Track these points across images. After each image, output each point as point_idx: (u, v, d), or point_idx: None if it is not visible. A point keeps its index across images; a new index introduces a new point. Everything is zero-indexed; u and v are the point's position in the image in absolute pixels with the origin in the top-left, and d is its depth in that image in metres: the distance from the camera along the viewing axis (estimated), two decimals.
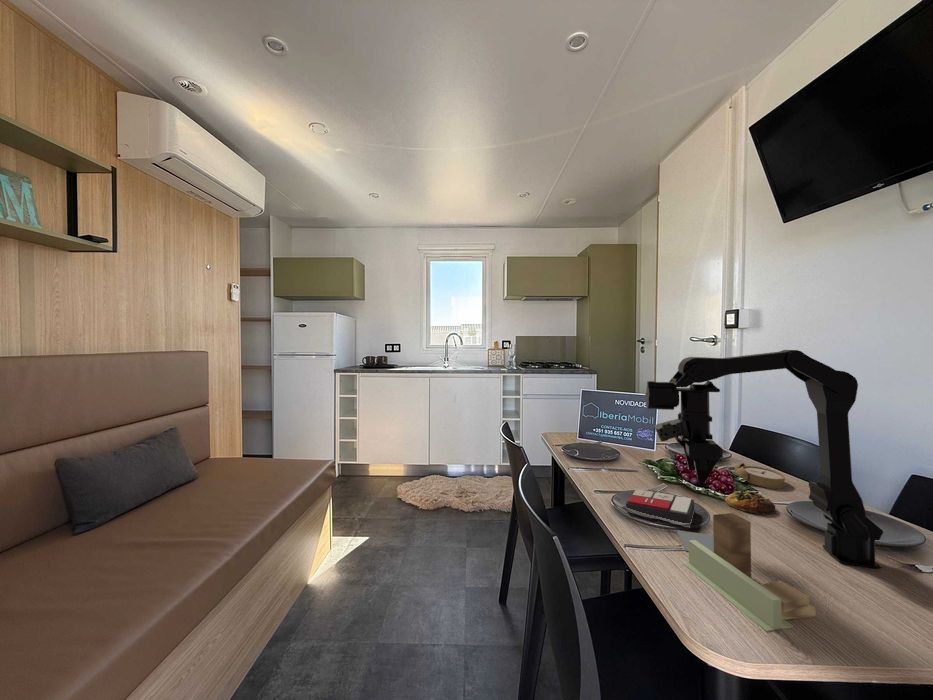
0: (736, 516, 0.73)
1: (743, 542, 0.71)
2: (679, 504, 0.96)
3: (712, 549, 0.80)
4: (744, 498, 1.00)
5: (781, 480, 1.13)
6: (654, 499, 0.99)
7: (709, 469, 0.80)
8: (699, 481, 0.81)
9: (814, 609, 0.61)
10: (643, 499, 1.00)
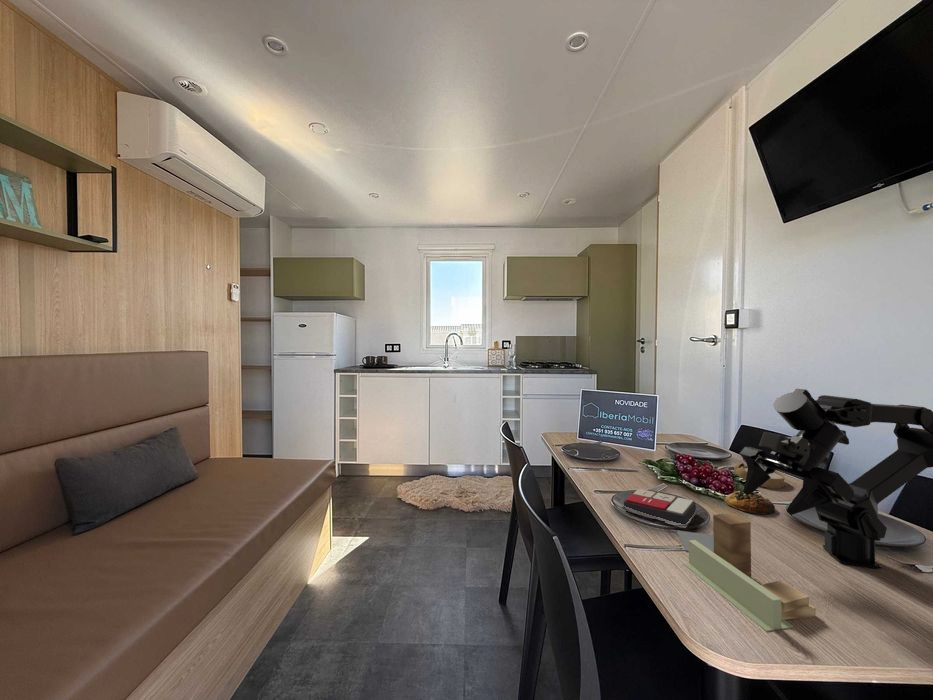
0: (736, 516, 0.73)
1: (743, 542, 0.71)
2: (677, 505, 0.95)
3: (712, 549, 0.80)
4: (743, 498, 1.00)
5: (781, 480, 1.13)
6: (653, 499, 0.99)
7: (812, 505, 0.68)
8: (790, 510, 0.69)
9: (814, 609, 0.61)
10: (642, 498, 1.00)
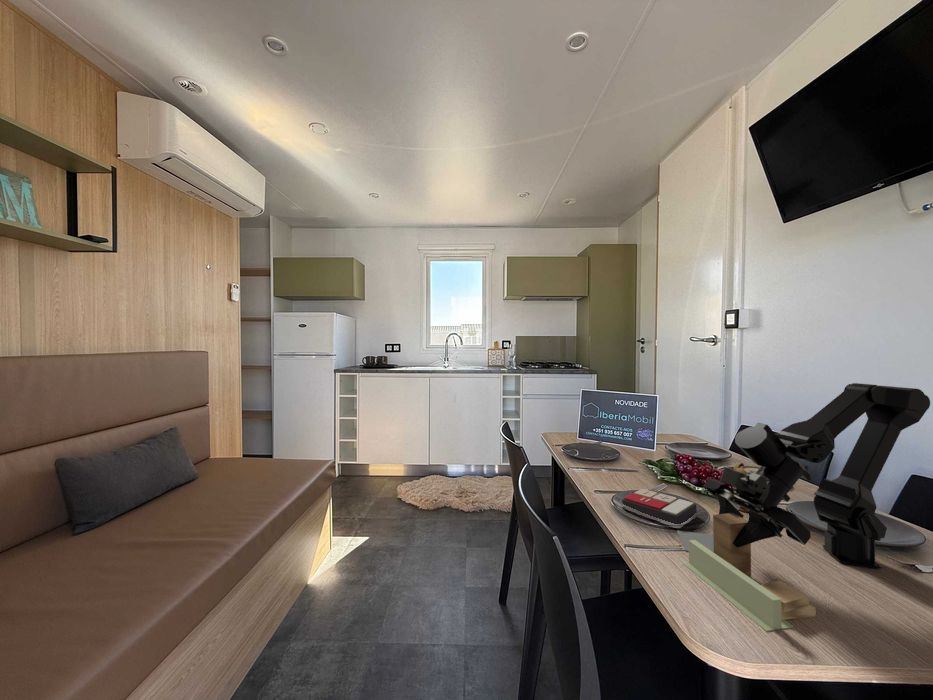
0: (736, 516, 0.73)
1: None
2: (675, 506, 0.95)
3: (712, 549, 0.80)
4: None
5: None
6: (652, 499, 0.99)
7: (757, 538, 0.69)
8: (736, 543, 0.70)
9: (814, 609, 0.61)
10: (640, 498, 1.01)
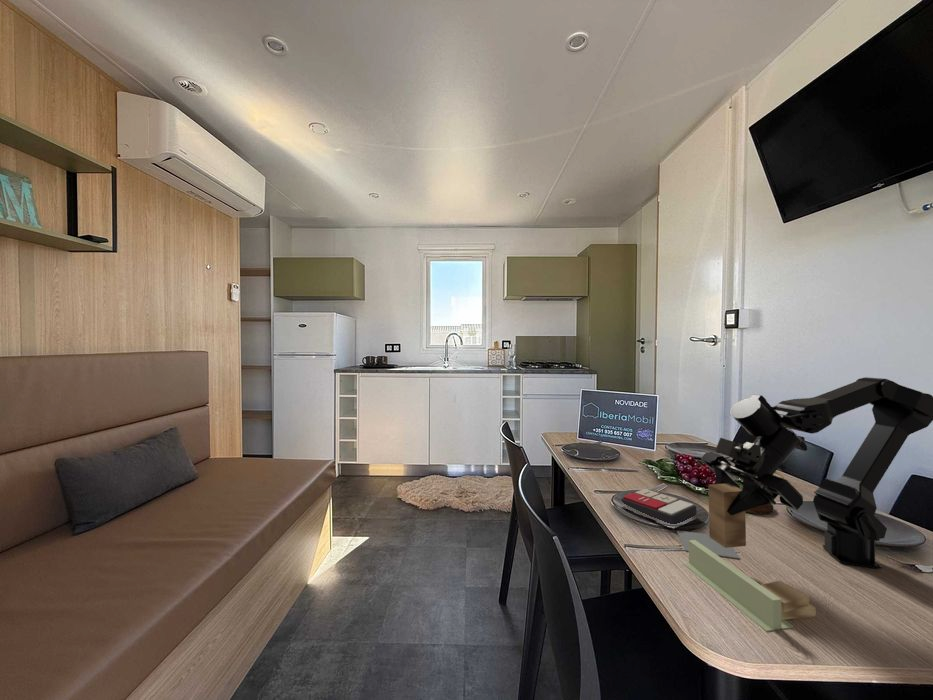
0: (731, 486, 0.74)
1: None
2: (673, 506, 0.94)
3: (712, 549, 0.80)
4: None
5: None
6: (651, 499, 1.00)
7: (751, 506, 0.70)
8: (730, 510, 0.71)
9: (814, 609, 0.61)
10: (640, 497, 1.01)
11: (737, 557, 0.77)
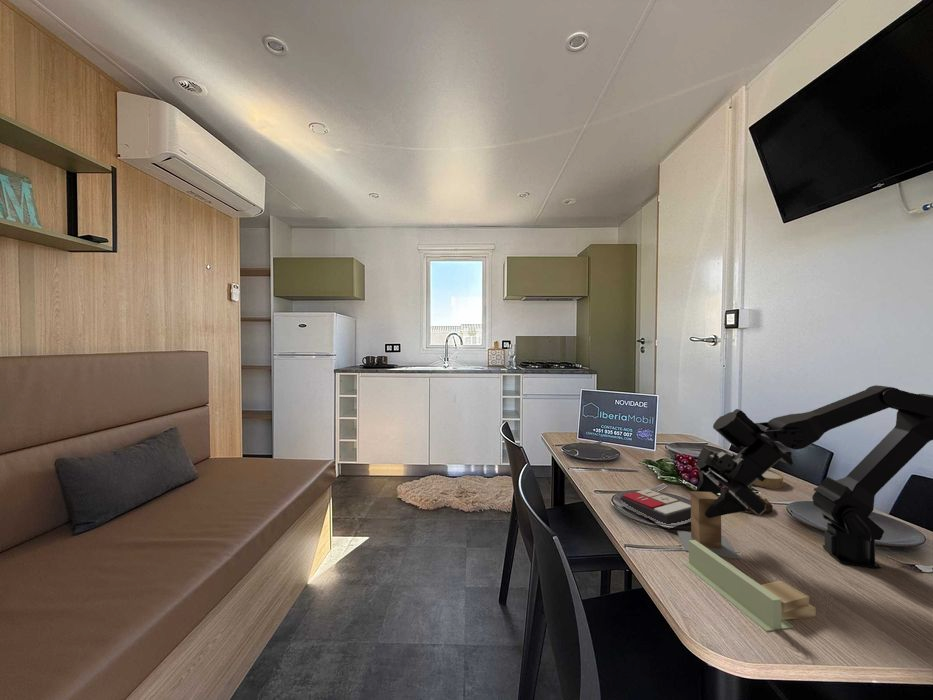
0: (712, 494, 0.83)
1: None
2: (670, 507, 0.94)
3: (712, 549, 0.80)
4: None
5: (780, 480, 1.13)
6: (650, 498, 1.00)
7: (727, 512, 0.77)
8: (707, 513, 0.79)
9: (814, 609, 0.61)
10: (639, 496, 1.01)
11: (737, 557, 0.77)
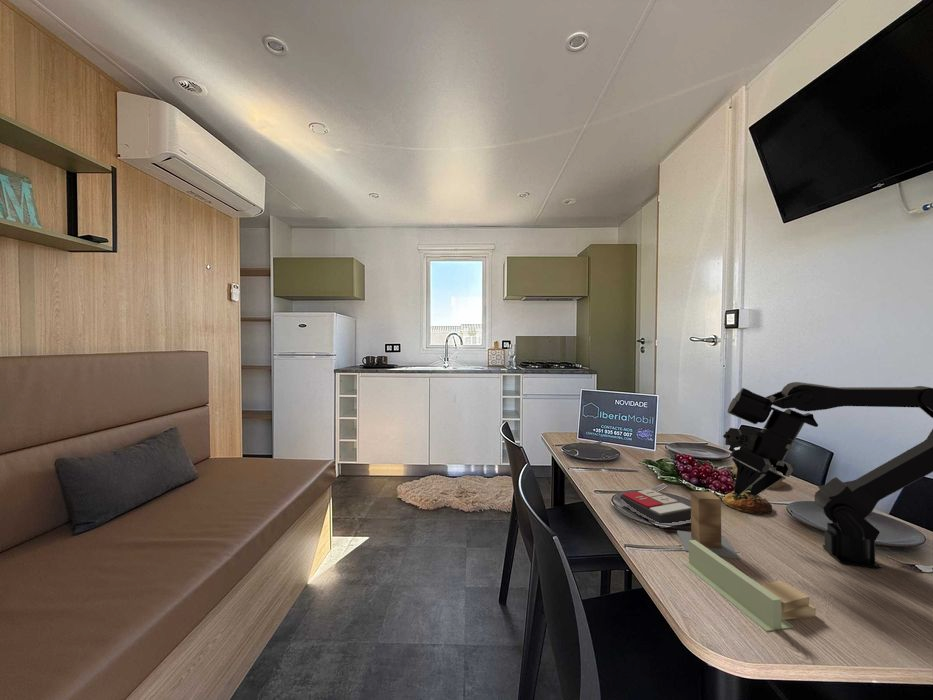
0: (712, 494, 0.83)
1: (713, 516, 0.80)
2: (667, 507, 0.94)
3: (712, 549, 0.80)
4: (741, 498, 1.00)
5: None
6: (649, 498, 1.00)
7: (749, 482, 0.79)
8: (735, 490, 0.82)
9: (814, 609, 0.61)
10: (639, 496, 1.02)
11: (737, 557, 0.77)
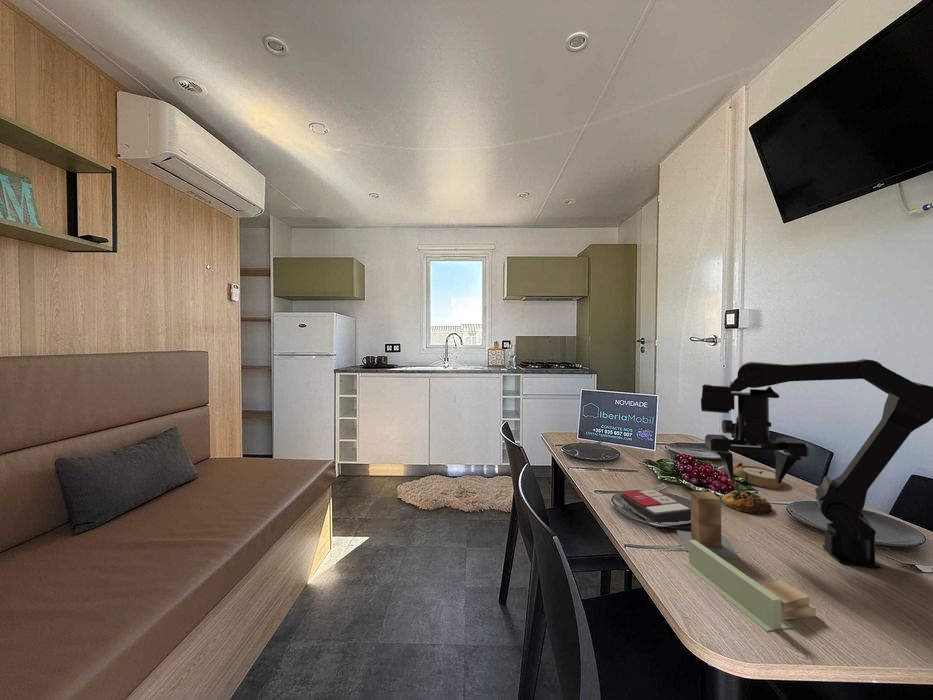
0: (712, 494, 0.83)
1: (713, 516, 0.80)
2: (664, 507, 0.94)
3: (712, 549, 0.80)
4: (740, 498, 1.00)
5: None
6: (649, 498, 1.00)
7: (726, 464, 0.87)
8: None
9: (814, 609, 0.61)
10: (638, 495, 1.02)
11: (737, 557, 0.77)
